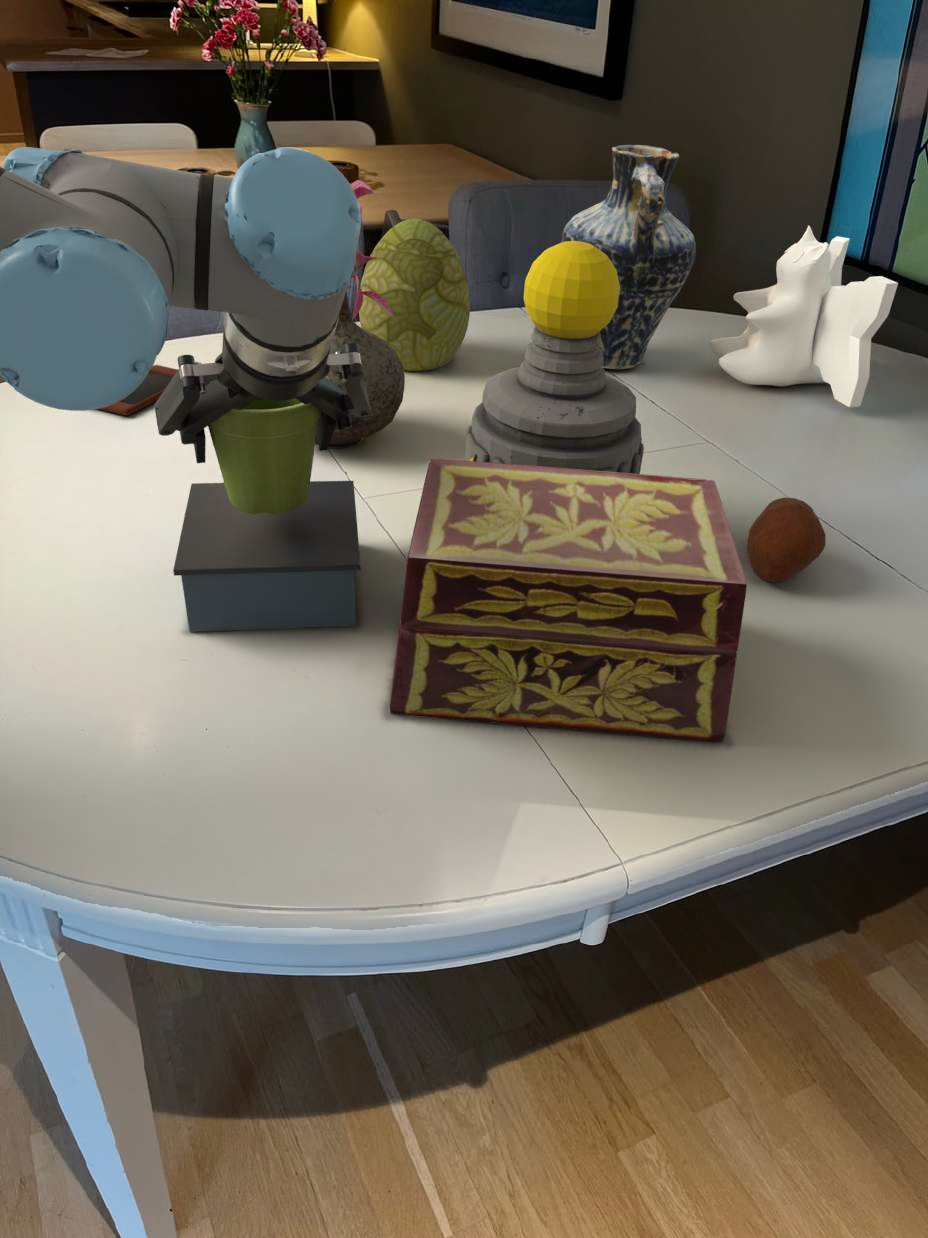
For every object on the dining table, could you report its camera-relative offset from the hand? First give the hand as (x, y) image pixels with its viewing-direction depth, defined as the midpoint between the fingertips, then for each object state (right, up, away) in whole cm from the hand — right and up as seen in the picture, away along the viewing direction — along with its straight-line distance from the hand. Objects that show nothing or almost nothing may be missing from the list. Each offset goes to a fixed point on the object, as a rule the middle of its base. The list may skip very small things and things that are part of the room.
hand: (260, 442), depth 88 cm
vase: (+3, +7, +34) cm, 35 cm away
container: (0, -13, +6) cm, 14 cm away
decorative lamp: (+28, -6, +18) cm, 33 cm away
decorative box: (+27, -20, -2) cm, 34 cm away
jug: (+42, +24, +61) cm, 78 cm away
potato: (+52, -11, +13) cm, 54 cm away
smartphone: (-25, +14, +42) cm, 51 cm away
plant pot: (+1, -5, 0) cm, 5 cm away
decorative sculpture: (+11, +23, +57) cm, 63 cm away
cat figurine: (+67, +20, +58) cm, 90 cm away
